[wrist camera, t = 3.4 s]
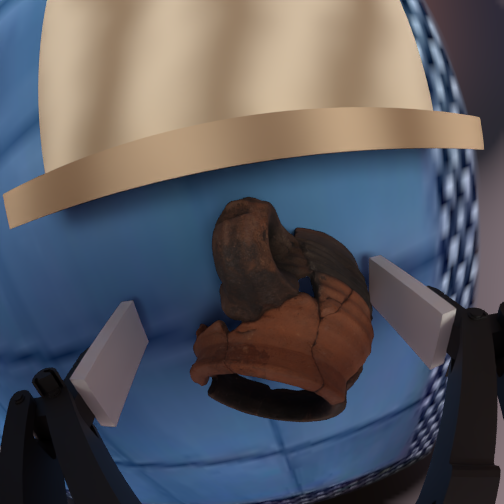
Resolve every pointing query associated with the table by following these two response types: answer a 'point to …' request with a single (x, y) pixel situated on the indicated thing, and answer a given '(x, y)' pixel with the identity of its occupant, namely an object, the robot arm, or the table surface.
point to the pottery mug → (283, 318)
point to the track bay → (220, 91)
